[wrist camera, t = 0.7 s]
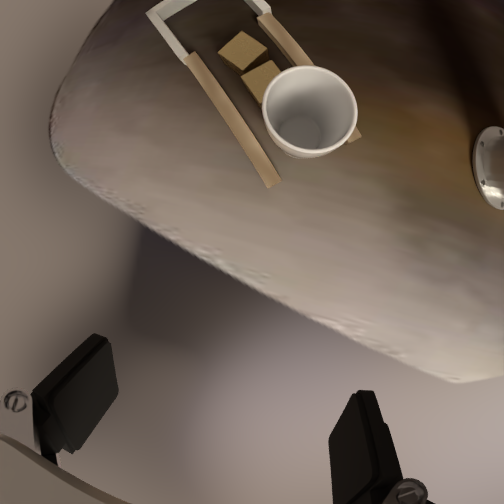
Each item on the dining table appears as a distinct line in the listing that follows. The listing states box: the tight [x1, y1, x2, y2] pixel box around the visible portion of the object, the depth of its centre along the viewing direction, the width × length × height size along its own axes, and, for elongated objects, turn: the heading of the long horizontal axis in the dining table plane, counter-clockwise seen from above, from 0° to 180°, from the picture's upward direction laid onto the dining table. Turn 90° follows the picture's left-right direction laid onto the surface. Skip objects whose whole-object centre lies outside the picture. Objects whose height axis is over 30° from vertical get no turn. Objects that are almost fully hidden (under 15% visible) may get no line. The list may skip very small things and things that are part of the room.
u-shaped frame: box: [146, 0, 271, 65], centre depth 26 cm, size 13×11×3 cm
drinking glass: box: [262, 65, 358, 158], centre depth 24 cm, size 7×7×15 cm
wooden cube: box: [241, 60, 281, 110], centre depth 28 cm, size 4×4×4 cm
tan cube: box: [218, 31, 269, 76], centre depth 27 cm, size 4×4×4 cm
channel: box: [183, 12, 362, 188], centre depth 29 cm, size 13×20×2 cm, turn 32°
